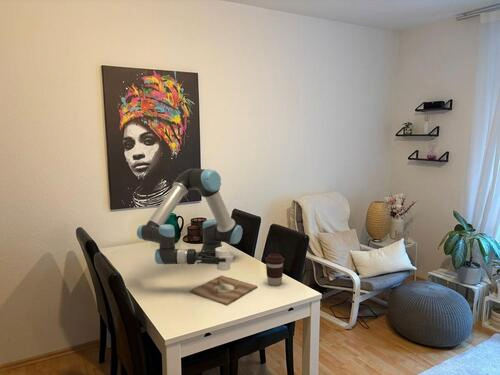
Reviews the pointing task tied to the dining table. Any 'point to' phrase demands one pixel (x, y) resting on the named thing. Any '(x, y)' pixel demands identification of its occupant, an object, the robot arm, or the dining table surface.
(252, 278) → the dining table surface
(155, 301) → the dining table surface
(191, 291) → the brown flat square piece
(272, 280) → the coffee cup
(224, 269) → the white cup
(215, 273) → the dining table surface
